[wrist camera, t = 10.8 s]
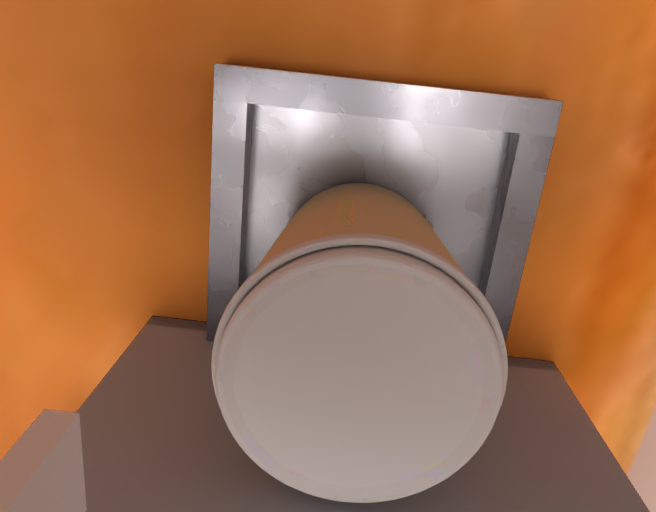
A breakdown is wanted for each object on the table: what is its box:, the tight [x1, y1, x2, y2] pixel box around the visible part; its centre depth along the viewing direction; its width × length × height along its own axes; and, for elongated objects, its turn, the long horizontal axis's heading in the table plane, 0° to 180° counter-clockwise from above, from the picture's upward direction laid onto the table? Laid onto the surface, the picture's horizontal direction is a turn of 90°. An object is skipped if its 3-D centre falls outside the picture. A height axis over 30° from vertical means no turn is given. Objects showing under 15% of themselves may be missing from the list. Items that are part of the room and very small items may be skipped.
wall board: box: [76, 316, 650, 512], centre depth 23 cm, size 5×22×16 cm, turn 84°
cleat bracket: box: [206, 63, 563, 343], centre depth 27 cm, size 14×15×2 cm
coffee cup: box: [211, 183, 508, 503], centre depth 22 cm, size 9×9×12 cm
